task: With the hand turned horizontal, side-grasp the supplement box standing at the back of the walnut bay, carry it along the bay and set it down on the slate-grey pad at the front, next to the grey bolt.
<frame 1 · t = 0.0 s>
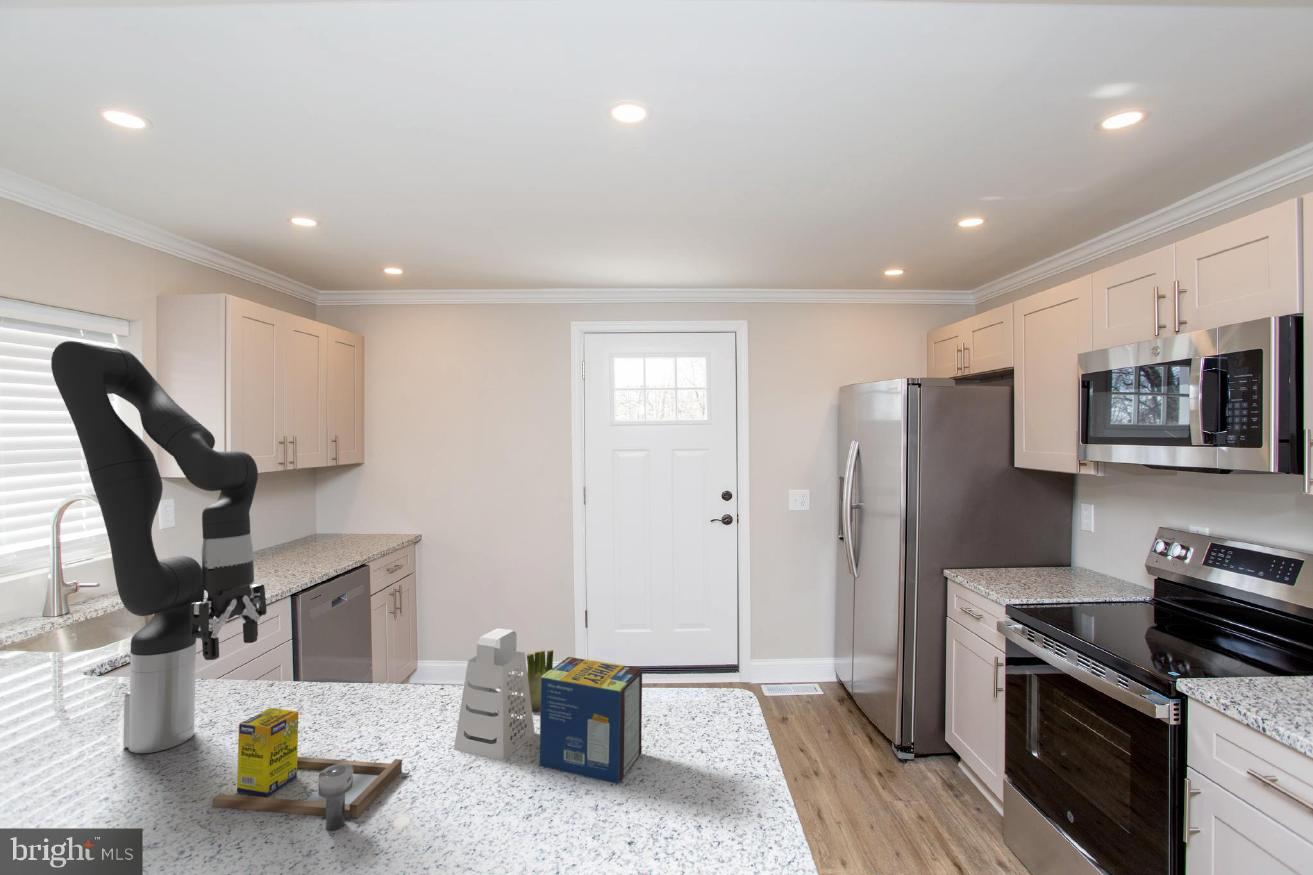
hand: (231, 650, 106), 17 cm above the countertop, tool pointing down, fingers open, 8 cm apart
protein box: (591, 760, 103), on the countertop
grey bolt: (335, 825, 85), on the countertop
bay: (308, 787, 94), on the countertop
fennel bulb: (538, 709, 123), on the countertop
supplement box: (267, 785, 94), on the countertop
grater: (495, 741, 109), on the countertop
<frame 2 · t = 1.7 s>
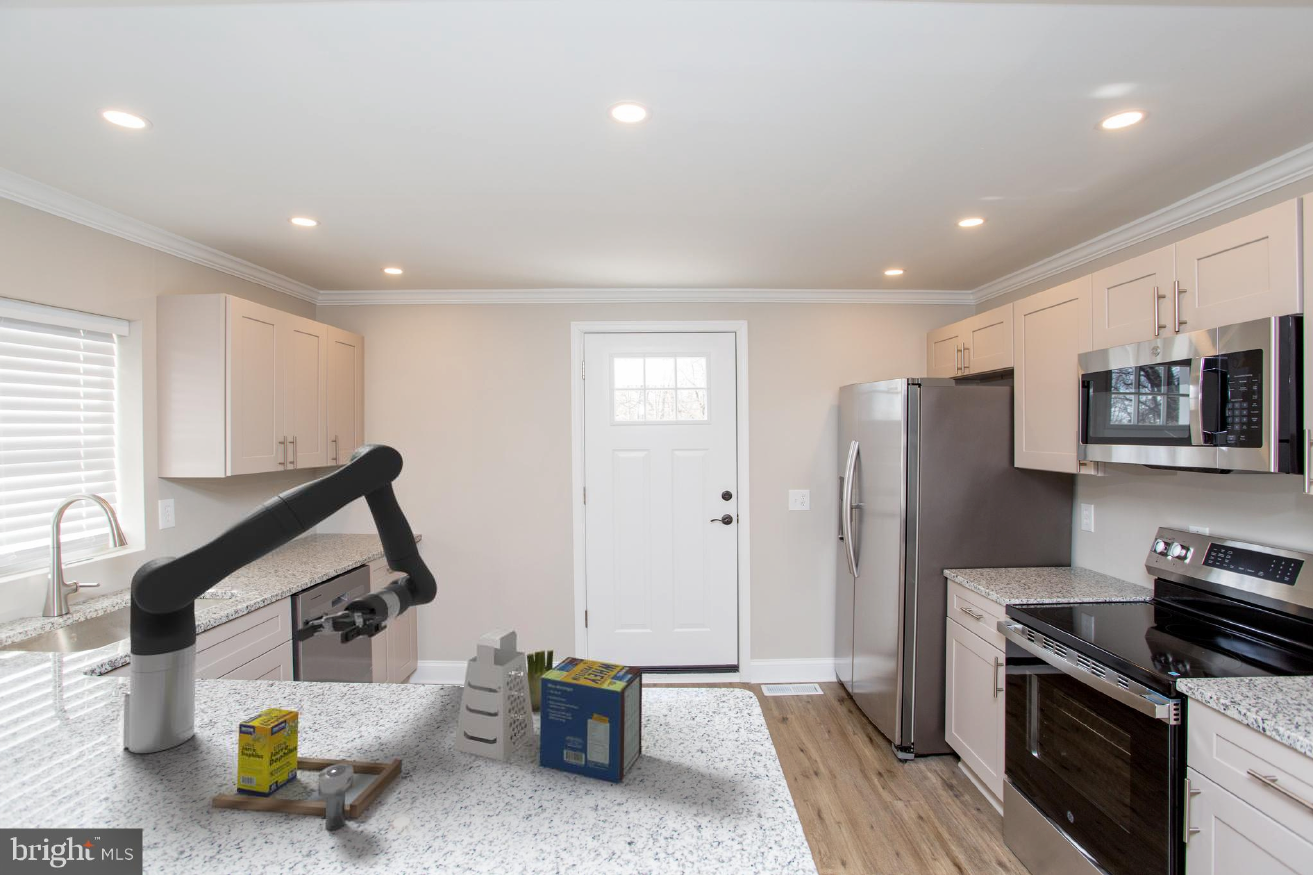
hand: (320, 637, 106), 20 cm above the countertop, tool horizontal, fingers open, 8 cm apart
nothing on the countertop moved.
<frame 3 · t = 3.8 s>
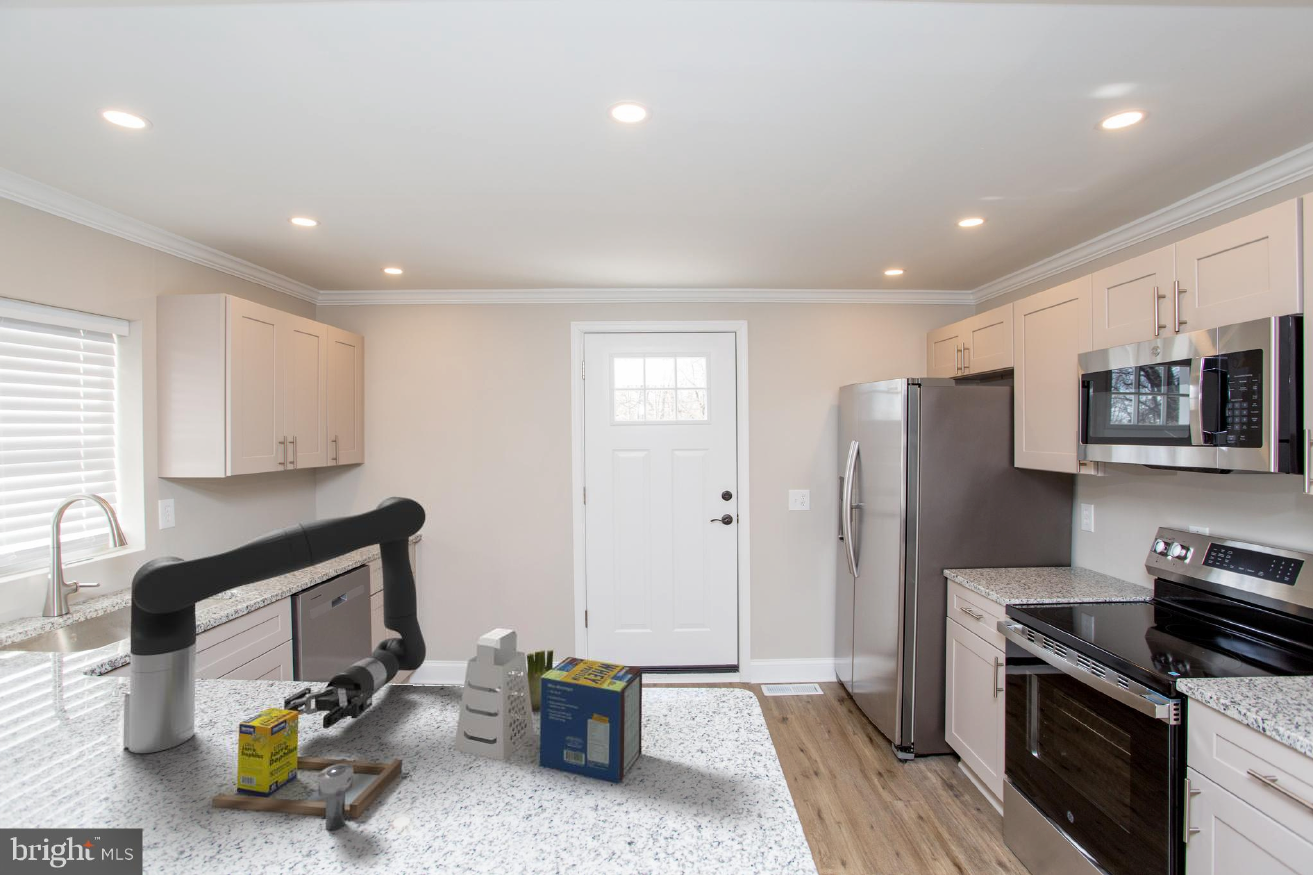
hand: (302, 721, 102), 7 cm above the countertop, tool horizontal, fingers open, 8 cm apart
nothing on the countertop moved.
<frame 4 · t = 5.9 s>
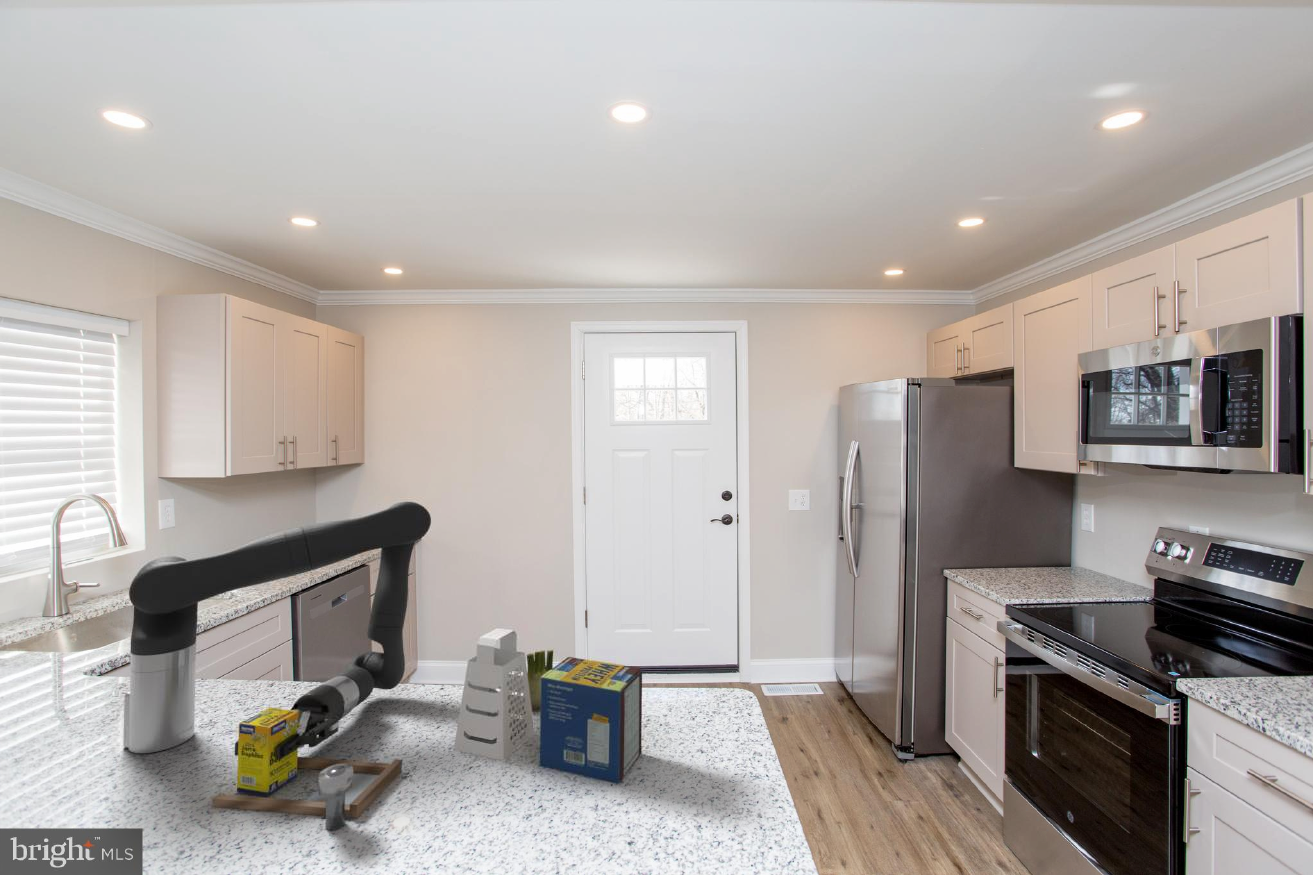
hand: (257, 751, 92), 7 cm above the countertop, tool horizontal, fingers closed on supplement box, 6 cm apart
supplement box: (267, 785, 94), on the countertop, touching gripper
everything else where it was.
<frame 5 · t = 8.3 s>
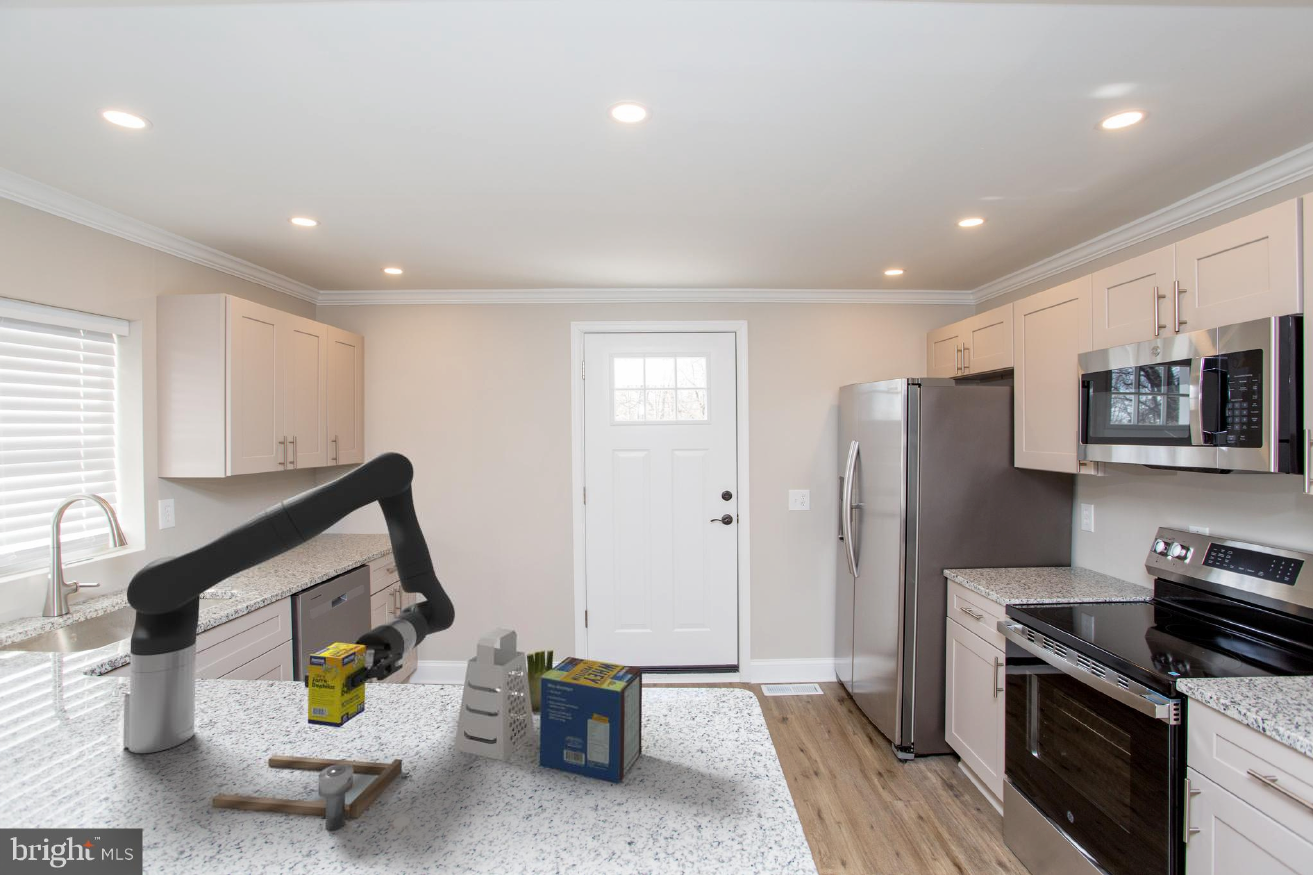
hand: (328, 682, 92), 18 cm above the countertop, tool horizontal, fingers closed on supplement box, 6 cm apart
supplement box: (337, 718, 94), point 11 cm above the countertop, touching gripper
everything else where it was.
when the fingers open (8 cm above the countertop, at t = 11.0 s): supplement box stays where it is, resting on bay.
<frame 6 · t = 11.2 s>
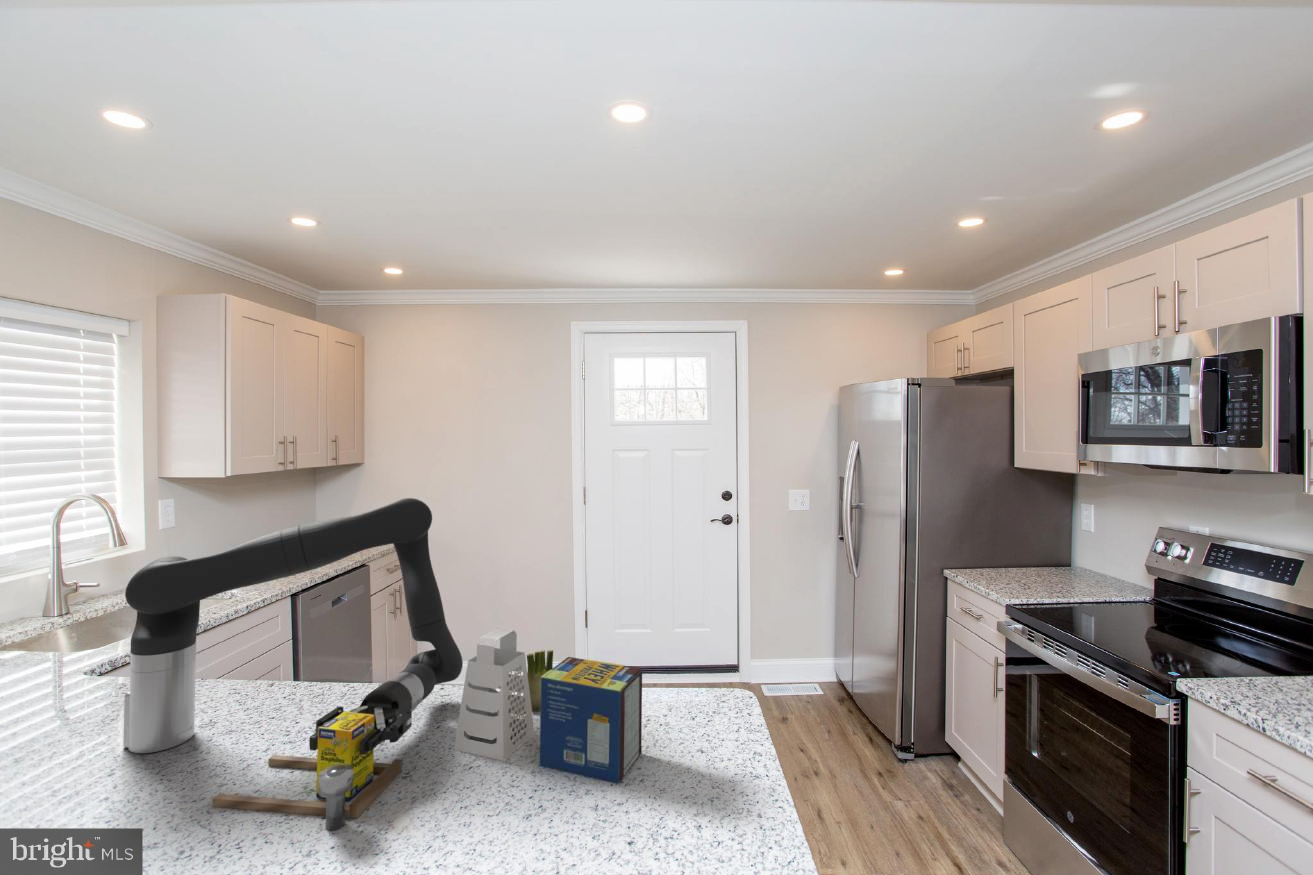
hand: (337, 746, 91), 8 cm above the countertop, tool horizontal, fingers open, 8 cm apart
supplement box: (345, 790, 93), resting on bay
everything else where it was.
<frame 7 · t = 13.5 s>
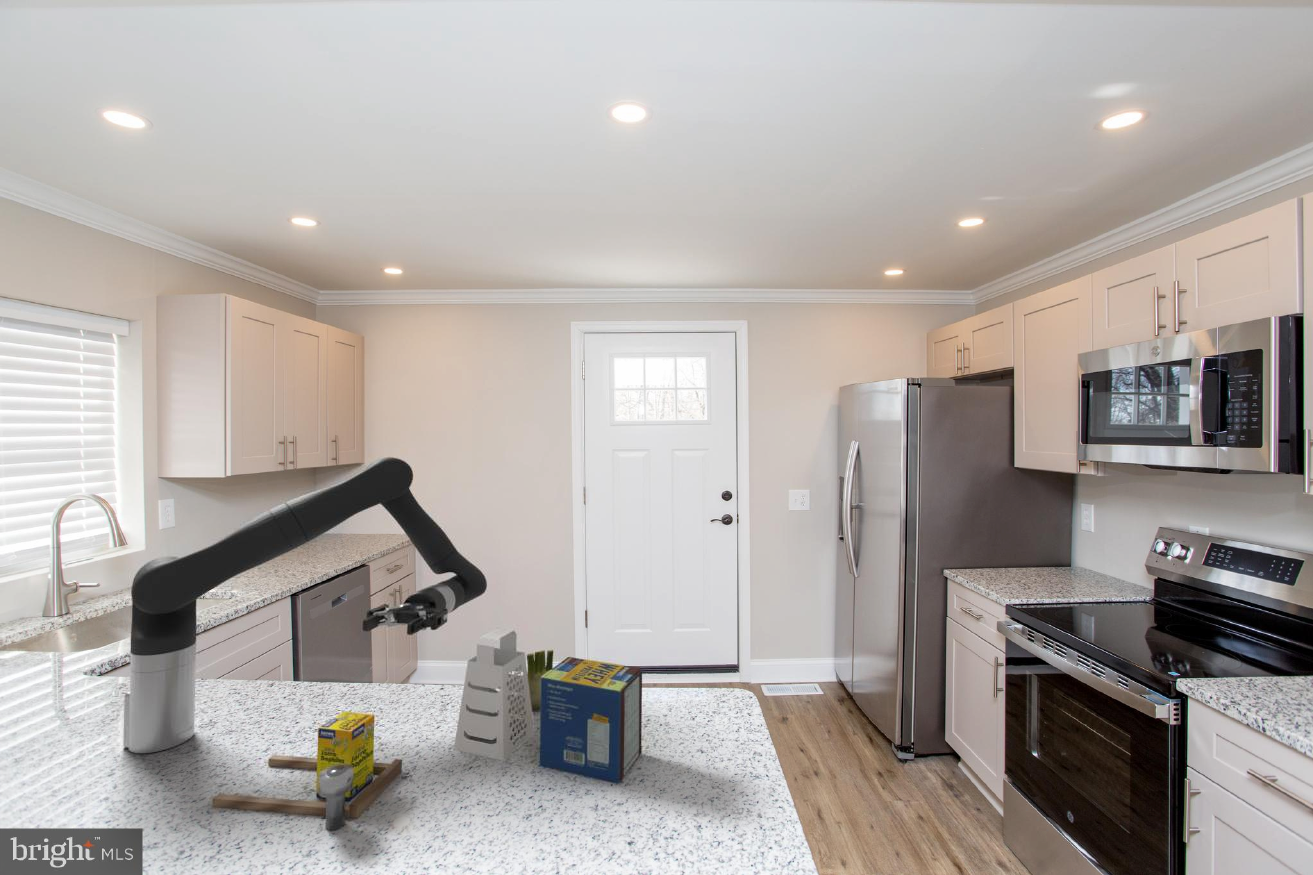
hand: (387, 627, 107), 21 cm above the countertop, tool horizontal, fingers open, 8 cm apart
nothing on the countertop moved.
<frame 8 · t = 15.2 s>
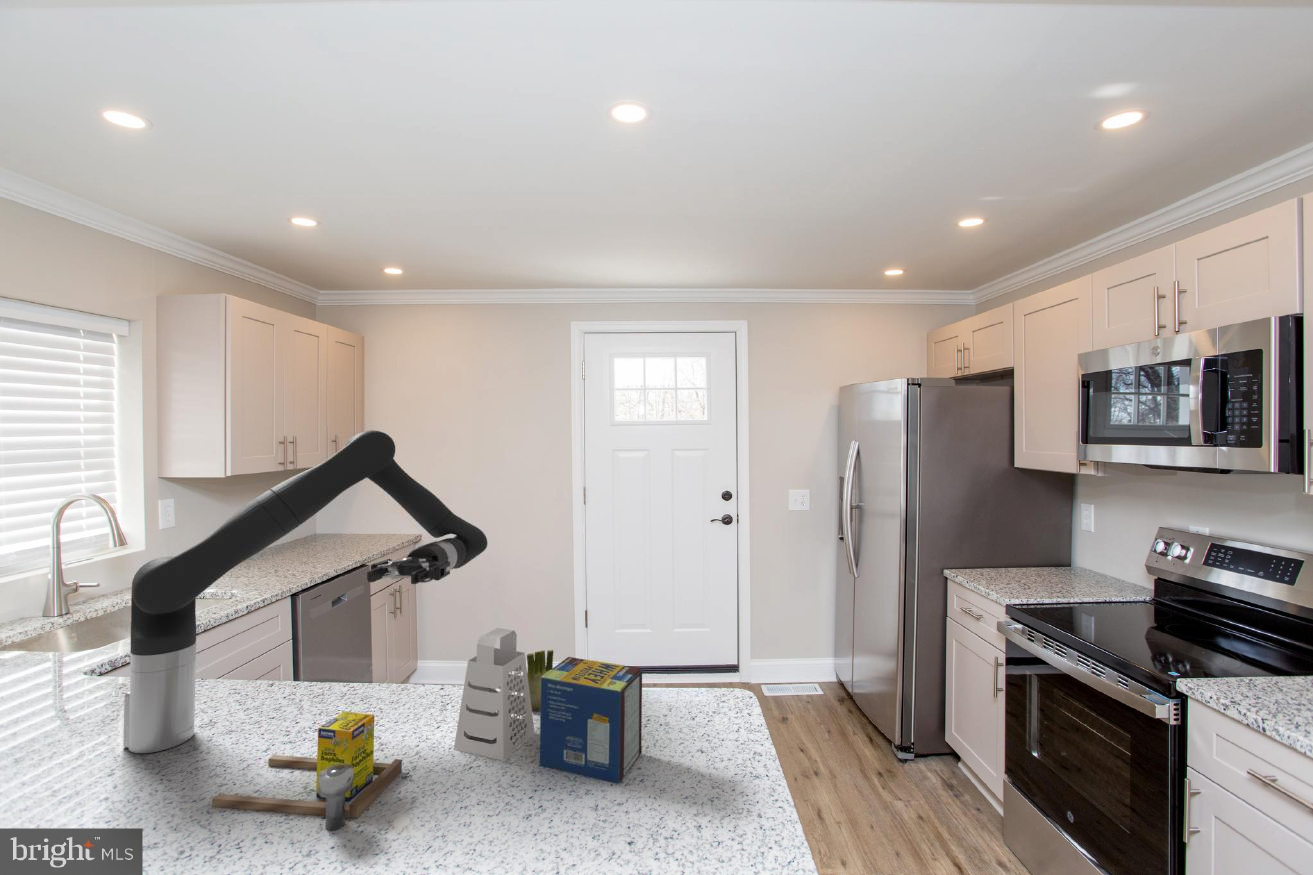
hand: (391, 577, 110), 30 cm above the countertop, tool horizontal, fingers open, 8 cm apart
nothing on the countertop moved.
at the end: supplement box inside the target area (0.5 cm from its centre), resting on bay; supplement box tilted 0°; the gripper is holding nothing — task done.
